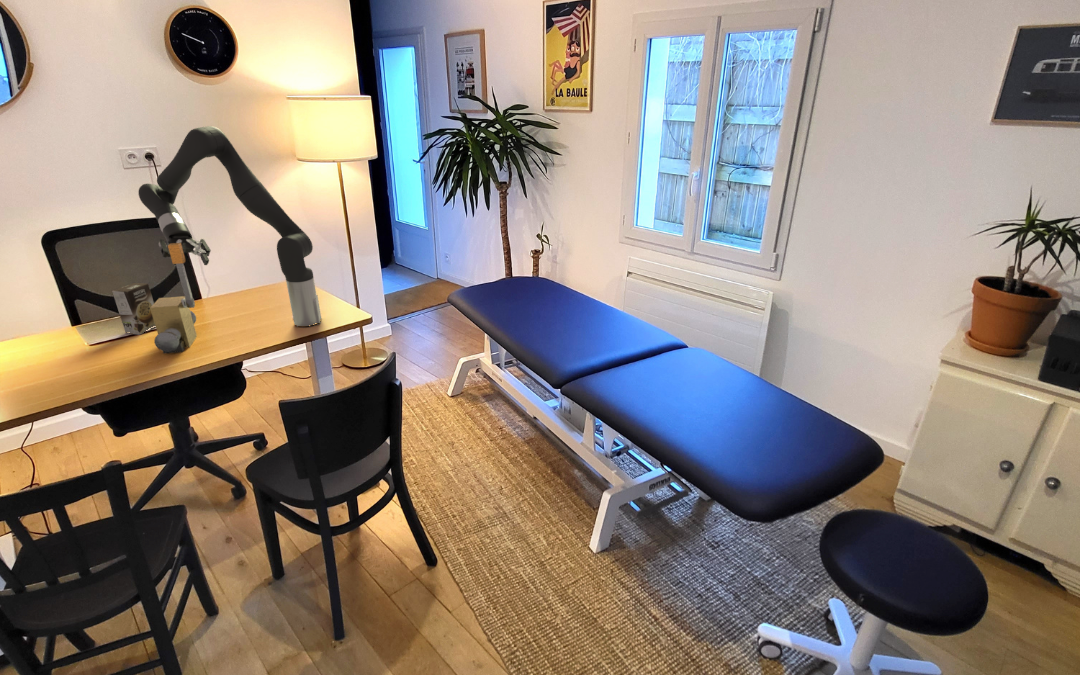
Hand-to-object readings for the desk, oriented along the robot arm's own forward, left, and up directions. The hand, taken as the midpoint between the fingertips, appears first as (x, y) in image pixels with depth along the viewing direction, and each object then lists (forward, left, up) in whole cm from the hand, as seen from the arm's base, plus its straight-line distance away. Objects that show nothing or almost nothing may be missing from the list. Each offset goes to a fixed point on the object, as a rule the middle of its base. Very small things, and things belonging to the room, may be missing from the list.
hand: (193, 264), depth 185 cm
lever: (+2, +6, -13) cm, 15 cm away
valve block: (+8, +6, -25) cm, 27 cm away
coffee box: (+24, -10, -26) cm, 37 cm away
